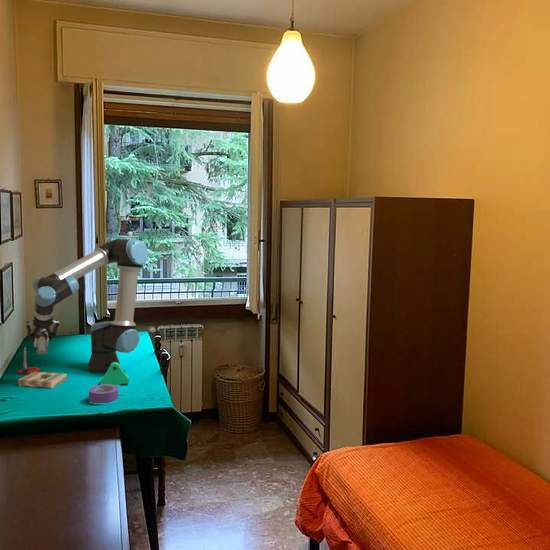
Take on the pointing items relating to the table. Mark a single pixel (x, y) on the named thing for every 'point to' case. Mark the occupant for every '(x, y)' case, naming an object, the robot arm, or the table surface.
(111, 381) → the green triangle
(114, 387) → the tape roll
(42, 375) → the jig
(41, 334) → the domed cap cylinder
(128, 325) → the robot arm
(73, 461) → the table surface
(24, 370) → the tow hook
